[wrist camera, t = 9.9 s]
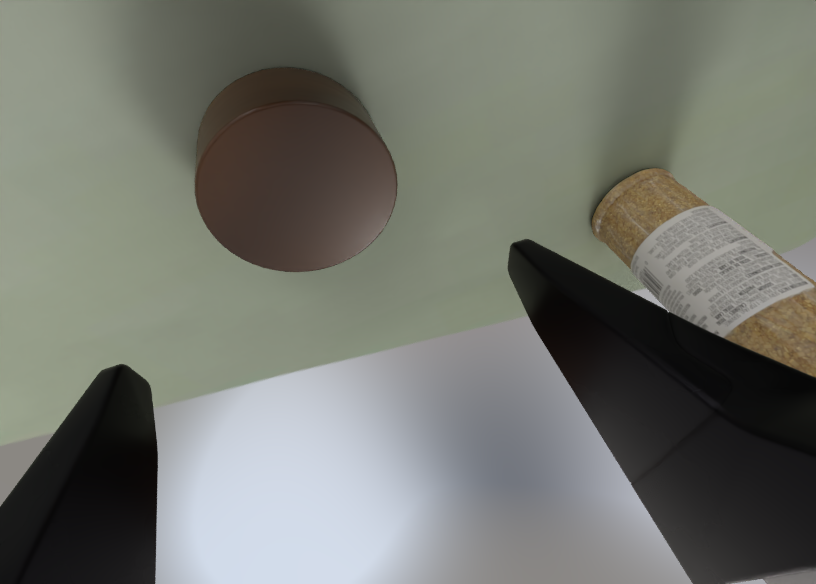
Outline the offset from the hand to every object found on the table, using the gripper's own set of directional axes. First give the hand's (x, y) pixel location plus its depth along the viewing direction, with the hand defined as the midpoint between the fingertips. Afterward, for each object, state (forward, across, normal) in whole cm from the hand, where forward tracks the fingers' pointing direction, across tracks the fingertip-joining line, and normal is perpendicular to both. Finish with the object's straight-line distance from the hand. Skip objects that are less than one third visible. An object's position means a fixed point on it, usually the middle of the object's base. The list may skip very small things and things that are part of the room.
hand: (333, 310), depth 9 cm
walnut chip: (+7, 0, 0) cm, 7 cm away
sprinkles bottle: (+7, -16, +7) cm, 19 cm away
